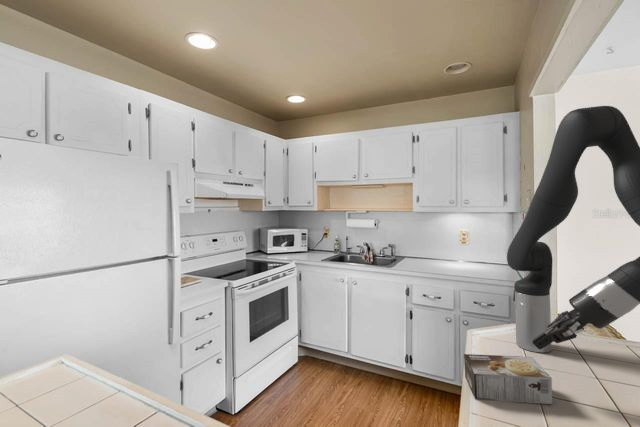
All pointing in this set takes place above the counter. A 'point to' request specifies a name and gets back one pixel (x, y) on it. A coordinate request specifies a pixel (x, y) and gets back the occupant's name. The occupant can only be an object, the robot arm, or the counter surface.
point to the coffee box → (507, 378)
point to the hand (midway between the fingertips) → (535, 345)
